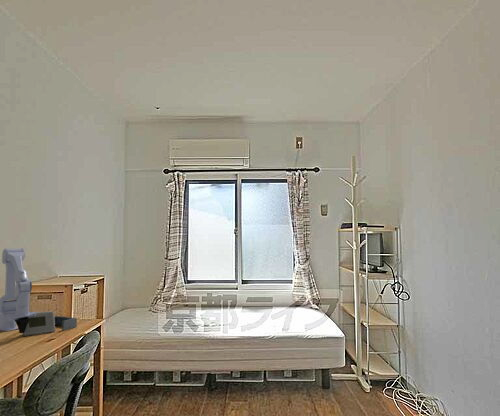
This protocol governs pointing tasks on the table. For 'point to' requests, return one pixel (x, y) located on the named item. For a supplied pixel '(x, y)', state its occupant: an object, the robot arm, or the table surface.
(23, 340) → the table surface
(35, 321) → the digital clock
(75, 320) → the end cap
